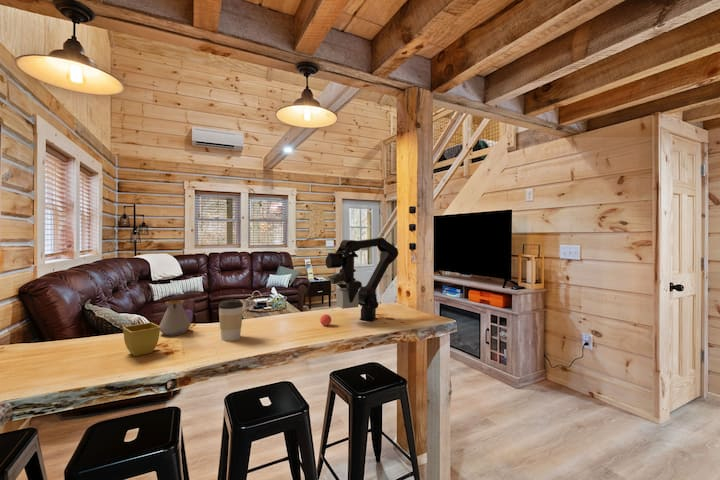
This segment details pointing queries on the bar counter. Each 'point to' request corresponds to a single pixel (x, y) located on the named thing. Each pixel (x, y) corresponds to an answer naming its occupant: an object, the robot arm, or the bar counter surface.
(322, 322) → the ball
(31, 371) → the bar counter surface
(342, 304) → the grey cube
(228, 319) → the coffee cup
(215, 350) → the bar counter surface
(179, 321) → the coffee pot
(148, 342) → the flower pot
